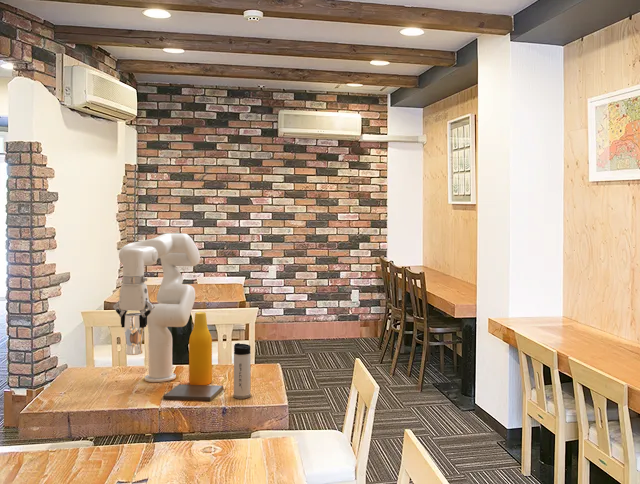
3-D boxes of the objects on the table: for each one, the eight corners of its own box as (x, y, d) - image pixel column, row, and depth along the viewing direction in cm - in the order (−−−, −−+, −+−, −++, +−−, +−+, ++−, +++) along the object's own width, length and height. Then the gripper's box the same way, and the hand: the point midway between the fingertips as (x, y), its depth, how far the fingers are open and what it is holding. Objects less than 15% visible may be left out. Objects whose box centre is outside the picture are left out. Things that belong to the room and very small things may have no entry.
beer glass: (137, 355, 239) (136, 316, 238) (120, 354, 240) (120, 315, 239) (147, 351, 245) (147, 313, 245) (131, 350, 247) (130, 312, 246)
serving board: (179, 388, 254) (179, 384, 254) (223, 389, 253) (223, 385, 253) (163, 399, 238) (163, 395, 238) (210, 401, 237) (210, 397, 237)
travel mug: (242, 393, 248) (242, 342, 247) (253, 396, 244) (254, 344, 243) (229, 396, 243) (229, 344, 242) (241, 400, 239) (241, 346, 238)
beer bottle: (185, 382, 262) (185, 312, 262) (205, 379, 268) (205, 310, 268) (194, 387, 255) (194, 315, 254) (216, 383, 261) (216, 313, 260)
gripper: (159, 279, 244) (160, 325, 245) (116, 278, 246) (116, 324, 247) (151, 282, 237) (151, 329, 238) (106, 281, 239) (107, 328, 239)
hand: (134, 326), depth 242 cm, fingers closed on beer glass, 7 cm apart
